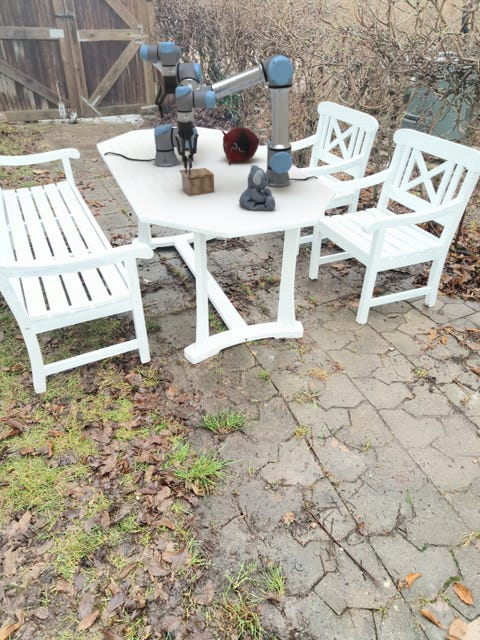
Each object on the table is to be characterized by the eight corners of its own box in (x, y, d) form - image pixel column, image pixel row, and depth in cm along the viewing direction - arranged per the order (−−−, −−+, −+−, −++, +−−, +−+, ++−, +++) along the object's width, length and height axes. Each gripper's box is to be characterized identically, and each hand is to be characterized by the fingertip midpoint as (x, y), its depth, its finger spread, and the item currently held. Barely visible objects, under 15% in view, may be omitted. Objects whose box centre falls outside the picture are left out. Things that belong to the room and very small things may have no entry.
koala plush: (276, 211, 223) (277, 171, 212) (240, 212, 222) (240, 172, 211) (271, 199, 237) (272, 161, 226) (237, 200, 236) (237, 162, 225)
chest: (190, 195, 243) (189, 179, 238) (182, 189, 252) (181, 173, 247) (214, 191, 248) (213, 176, 243) (206, 185, 257) (205, 170, 252)
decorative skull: (219, 133, 304) (219, 130, 280) (253, 125, 303) (256, 122, 279) (226, 165, 310) (227, 165, 287) (260, 158, 310) (263, 157, 286)
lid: (187, 178, 237) (186, 160, 232) (179, 172, 246) (179, 154, 241) (213, 176, 243) (213, 158, 238) (205, 170, 252) (205, 153, 247)
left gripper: (149, 77, 239) (154, 120, 251) (193, 74, 248) (195, 116, 260) (145, 75, 244) (150, 117, 256) (188, 73, 253) (191, 113, 265)
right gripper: (173, 123, 221) (177, 171, 235) (201, 120, 227) (204, 167, 240) (168, 120, 227) (172, 167, 240) (196, 118, 232) (198, 164, 246)
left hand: (173, 117), depth 258 cm, fingers open, 13 cm apart
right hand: (188, 167), depth 240 cm, fingers closed on lid, 2 cm apart
